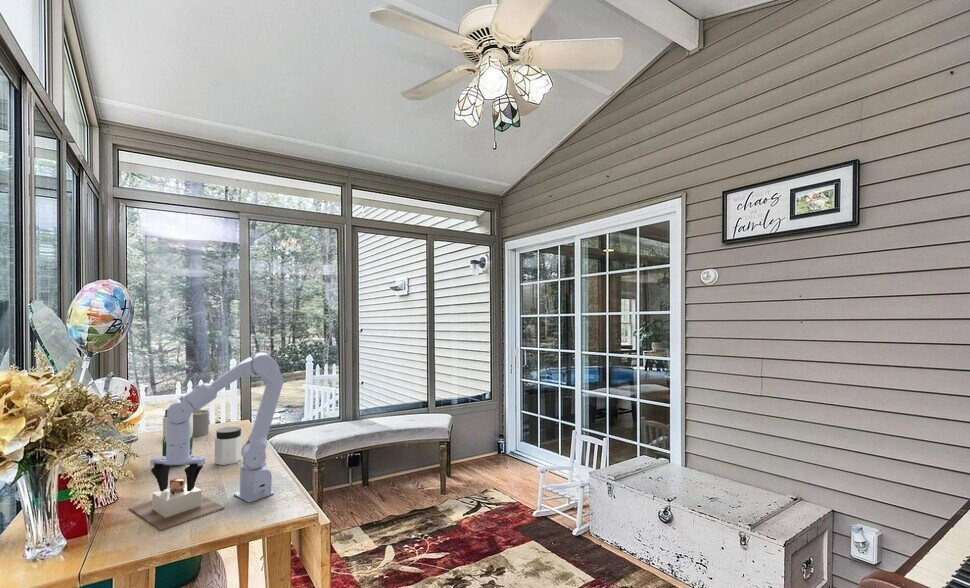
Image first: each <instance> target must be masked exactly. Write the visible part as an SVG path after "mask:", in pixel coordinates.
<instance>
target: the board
mask: <svg viewBox="0 0 970 588" xmlns="http://www.w3.org/2000/svg"><path fill="white" fill-rule="evenodd" d="M128 509H129V510H130V511H131V512H132V513H134V514H135V515H137V516H138V517H140V518H141V519H143V520H144V521H146V523H148V524H149V525H151V526H152V527H154V528H155V529H156V530H158V531H159V532H163V531H165V530H168V529H171V528H174V527H177V526H179V525H182V524H185V523H189V522H190V520H191V521H193V519H194V520H196V519H199V518H201V516H202V517H204V515H205V516H207V514H208V515H210V514H213V513H215V512H214V511H216V512H218V511H217V510H219V511H221V509H222V510H224V509H225V507H224V506H223V505H222V504H219V503H217V502H216V501H213V500H212V499H209V497H206V496H204V495H202V494H201V506H199V507H196V508H193V509H190V510H187V511H184V512H181V513H178V514H175V515H172V516H169V517H166V518H165V517H164V516H162V515H161V514H159V513H158V512H156V511H155V510H153V509H152V500H149V501H145V502H142V503H139V504H135V505H133V506H129V507H128ZM212 512H213V513H212ZM209 513H210V514H209Z"/></svg>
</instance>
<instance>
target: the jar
mask: <svg viewBox="0 0 970 588" xmlns="http://www.w3.org/2000/svg"><path fill="white" fill-rule="evenodd" d="M242 448H243V434H242V428H241V427H240V426H226V427H221V428H219V429H217V430H216V437H215V438H214V461H213V462H214V464H216V465H220V466H226V465H227V464H228V465H233V464H236V463H238V462H239V461H241V460H243V457H242V454H241V450H242Z"/></svg>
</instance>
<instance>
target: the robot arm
mask: <svg viewBox="0 0 970 588" xmlns="http://www.w3.org/2000/svg"><path fill="white" fill-rule="evenodd" d="M253 372H254V373H256V374H257V376H260V377H261V378H262V379H263V381H264V382H265V388H264V390H263V393H262V397H261V400H260V403H259V407H258V411H257V413H256V416H255V420H254V422H253V423H254V424H253V426H252V429H251V432H250V433H249V436H248V438H247V441H246V442H245V443H244V445H242V450H241V454H242V463H241V464H240V465H239V466H240V469H239V471H240V472H239V491H237V492H234V493H233V496H235V497H236V498H238V499H240V500H243V501H245V502H248V503H252V502H255V501H257V500H260V499H263V498H267V497H269V496H272V495H274V494H275V492H274V491H273V490H272V479H273V478H272V472H271V471H270V470H269V469H268V467H267V461H266V459H267V453H266V449H267V448H266V447H267V441H268V435H269V432H270V429H271V425H272V422H273V418H274V415H275V411H276V409H277V405H278V402H279V398H280V394H281V392H282V389H283V385H284V377H283V375H282V373H281V370H280V367H279V364H278V362H277V361H276V360H275V359H274V358H273V357H272V356H271V355H270V354H269V353H267V352H264V351H259V352H257V353H254V354H253V355H252V356H249V357H246V359H244V360H242V361H240V362H239V363H237V364H236V365H235V366H233V367H232V368H231V369H230V370H228V371H227V372H225V373H223V374H222V375H221V376H220V377H218V378H217V379H215V380H214V381H213V382H211V383H207V382H206V383H204V382H203V383H202V384H201V385H200V384H196V385H195V386H194V389H193V390H192V391H190V392H189V393H187V394H185V395H182V396H180V397H179V398H178V400H175V401H173V402H172V403H171V404H170V405H169V407H168V408H167V409H168V411H167V419H168V422H167V426H168V428H167V441H166V456H164V457H163V456H155V457H152V458H151V459H149V460H150V461H149V465H150V467H151V469H150V472H151V473H152V474H153V476H154V477H155V478H154V479H156V482H157V484H158V487H159V491H164V490H166V489H168V488H169V476H170V468H171V467H170V466H171V465H182V466H187V467H185V468H184V472H185V476H186V477H185V479H186V483H187V491H191V490H192V489H194V486H196V485H195V484H196V481H197V479H198V476H199V474H200V472H201V470H202V468H203V467H204V465H205V464H206V457H205V456H196V455H192V454H191V455H190V425H189V419H190V416H191V413H193V412H197V411H198V410H202V408H204V407H205V406H207V405H208V404H210V403H212V401H214V400H216V399H217V396H218V392H220V391H221V390H223V389H224V388H226V387H227V386H229V385H231V384H232V383H234V382H235V381H237V380H238V379H240V378H241V377H247V376H253V375H254V373H253Z"/></svg>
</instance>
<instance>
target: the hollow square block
mask: <svg viewBox="0 0 970 588" xmlns="http://www.w3.org/2000/svg"><path fill="white" fill-rule="evenodd" d="M201 495H202V489H201V488H199V487H197V486H196V485H194V489H192V490H191V491H187V482H185V488H184V489H182V490H180V493H177V494H174V491H170V487H167V489H166V490H164V491H160V490H158V491H155V492H152V499H151V501H152V509H153V510H155V511H156V512H158V513H159V514H161V515H162V516H164V517H165V518H166V517H169V516H172V515H175V514H178V513H181V512H184V511H187V510H190V509H193V508H196V507H199V506H201Z"/></svg>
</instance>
